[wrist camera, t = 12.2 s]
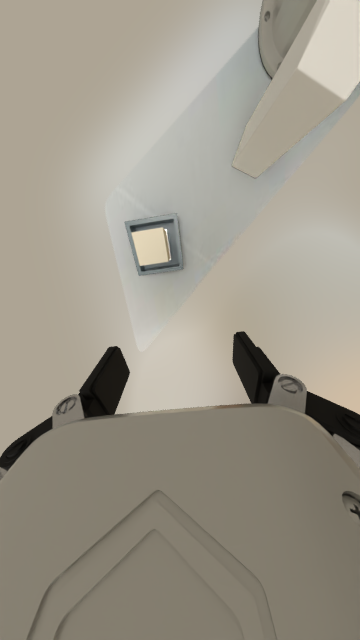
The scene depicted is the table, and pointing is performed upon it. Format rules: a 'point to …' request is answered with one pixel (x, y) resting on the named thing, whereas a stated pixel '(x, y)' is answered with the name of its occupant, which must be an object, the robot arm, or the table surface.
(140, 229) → the tote
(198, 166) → the table surface
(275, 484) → the robot arm
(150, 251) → the beige cube
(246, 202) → the table surface
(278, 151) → the milk
